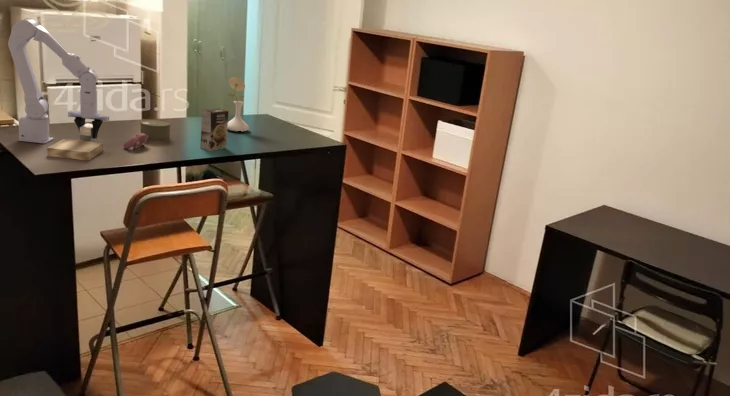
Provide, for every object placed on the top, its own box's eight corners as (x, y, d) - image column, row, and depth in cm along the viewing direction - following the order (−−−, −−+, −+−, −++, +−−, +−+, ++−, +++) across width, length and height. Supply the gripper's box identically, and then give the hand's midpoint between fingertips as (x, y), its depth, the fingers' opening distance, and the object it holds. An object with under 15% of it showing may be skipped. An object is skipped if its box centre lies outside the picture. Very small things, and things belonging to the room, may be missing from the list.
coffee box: (210, 151, 239) (212, 112, 233) (199, 147, 242) (201, 109, 236) (226, 148, 246) (229, 110, 241) (215, 144, 249) (218, 107, 244)
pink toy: (130, 154, 225) (138, 139, 223) (121, 147, 225) (128, 132, 223) (145, 148, 235) (152, 135, 232) (135, 142, 235) (143, 128, 232)
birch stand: (47, 156, 204) (47, 147, 203) (64, 146, 218) (64, 138, 217) (89, 160, 206) (88, 152, 205) (103, 150, 219) (103, 143, 218)
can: (175, 140, 246) (176, 125, 244) (148, 143, 238) (148, 126, 236) (161, 134, 254) (161, 118, 252) (134, 135, 245) (134, 119, 243)
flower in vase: (253, 132, 281) (258, 80, 273) (236, 134, 271) (240, 80, 263) (234, 125, 287) (237, 75, 279) (217, 128, 278) (220, 75, 270)
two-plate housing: (79, 142, 222) (79, 127, 220) (87, 138, 228) (86, 123, 227) (90, 143, 222) (90, 128, 220) (97, 139, 229) (97, 124, 227)
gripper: (112, 103, 225) (111, 137, 230) (72, 98, 224) (73, 132, 228) (105, 106, 219) (105, 141, 223) (65, 101, 217) (66, 136, 221)
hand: (88, 137), depth 225 cm, fingers closed on two-plate housing, 4 cm apart
